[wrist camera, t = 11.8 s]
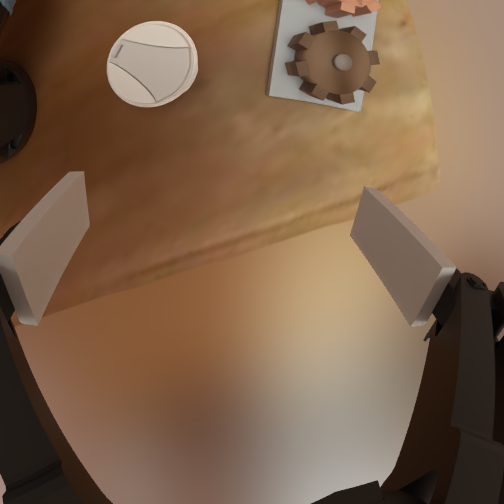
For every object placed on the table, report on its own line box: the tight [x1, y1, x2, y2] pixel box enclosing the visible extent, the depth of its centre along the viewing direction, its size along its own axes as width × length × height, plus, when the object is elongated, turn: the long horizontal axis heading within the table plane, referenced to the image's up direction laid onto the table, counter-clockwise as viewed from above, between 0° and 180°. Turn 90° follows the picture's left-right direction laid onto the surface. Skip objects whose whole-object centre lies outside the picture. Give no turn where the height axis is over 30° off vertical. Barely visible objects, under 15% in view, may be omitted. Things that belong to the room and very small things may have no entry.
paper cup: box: [107, 21, 198, 107], centre depth 26 cm, size 8×8×14 cm
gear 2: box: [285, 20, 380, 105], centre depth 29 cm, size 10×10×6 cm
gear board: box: [266, 0, 379, 112], centre depth 27 cm, size 12×22×7 cm, turn 173°
